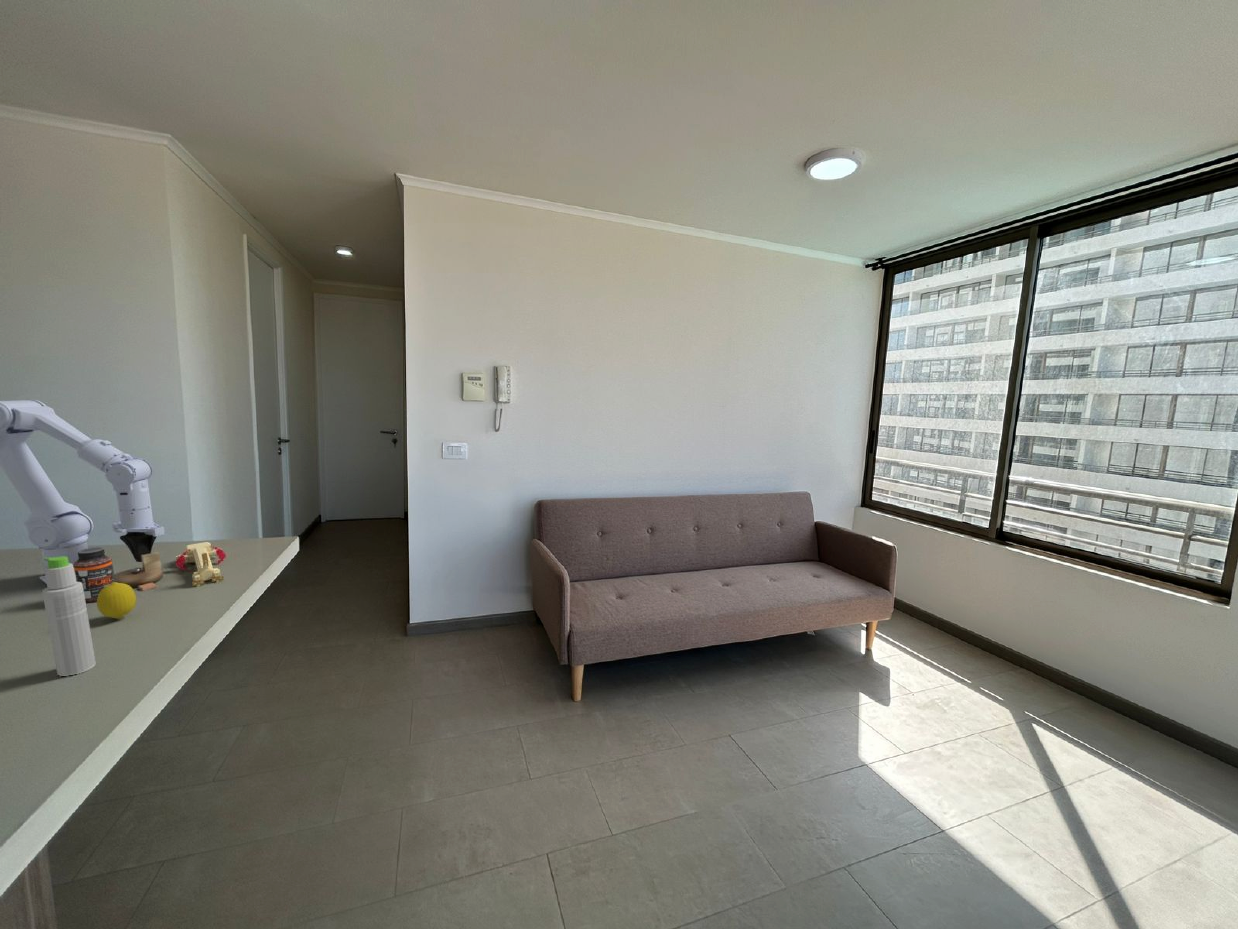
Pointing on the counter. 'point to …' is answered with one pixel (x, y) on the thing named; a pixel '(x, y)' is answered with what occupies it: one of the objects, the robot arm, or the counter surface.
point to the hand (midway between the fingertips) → (143, 560)
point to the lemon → (116, 600)
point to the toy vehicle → (202, 562)
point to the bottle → (67, 618)
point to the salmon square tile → (147, 586)
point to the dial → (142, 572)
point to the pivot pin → (136, 570)
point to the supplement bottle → (93, 572)
